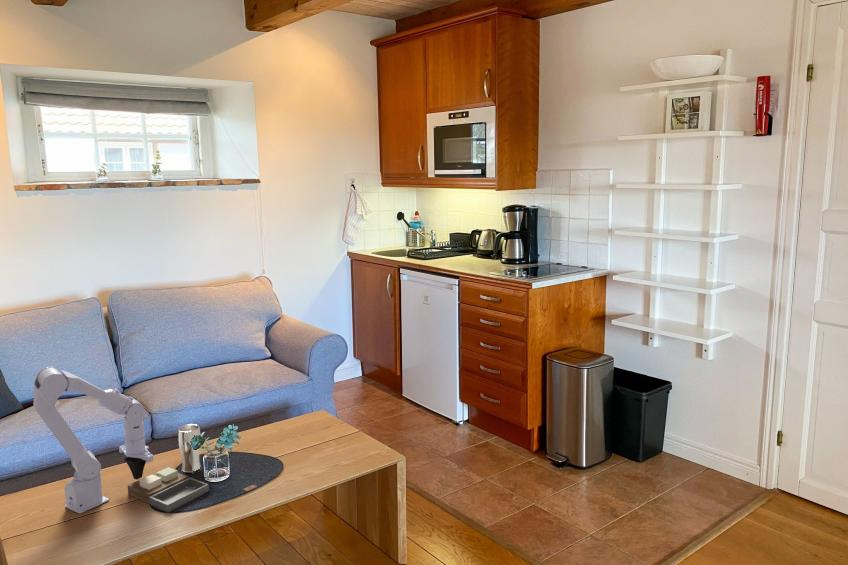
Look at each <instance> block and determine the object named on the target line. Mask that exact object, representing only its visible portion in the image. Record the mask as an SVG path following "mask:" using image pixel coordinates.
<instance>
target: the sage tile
mask: <svg viewBox="0 0 848 565" xmlns="http://www.w3.org/2000/svg"><path fill="white" fill-rule="evenodd" d="M178 471H179V470H177V469H175V468H172V467H169V466H168V467H165V468H163V469H161V471H160V470H159V472H158V471H156V472H155V473H156V474H157V476H158V477H160V478H161V480H162V481H165V482H167V481H169V480H171V479H173V478H175V477H178V473H179V472H178Z"/></svg>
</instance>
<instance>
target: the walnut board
mask: <svg viewBox="0 0 848 565" xmlns="http://www.w3.org/2000/svg"><path fill="white" fill-rule="evenodd" d="M161 470H162V469H161ZM161 470H159V471H161ZM159 471H158V470H157V472H159ZM152 474H153V475H155V476H157V474H156V472H154V473H152ZM152 474H150V475H152ZM150 475H148V476H150ZM188 478H189V476H188V475H187V474H184V473H180V472H178V477H175V478H173V479H171V480H169V481H167V482H165V481H162V480H161V481H162V484H160V485H158V486H156V487H154V488H152V489H150V490H148V489H146V488H143V487H141V486H140V480H141V479H142V478H139V479H137V480H136V481H134V482H131V483H129V484H128V485H127V494H128V495H130V496H132V497H134V498H137V499H139V500H141V501H143V502H145V503H148V504H149V497H150V496H152V495H154V494H156V493H158V492H161V491H163V490H165V489H167V488H169V487H171V486H173V485H175V484H177V483H179V482H181V481H184V480H186V479H188Z"/></svg>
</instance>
